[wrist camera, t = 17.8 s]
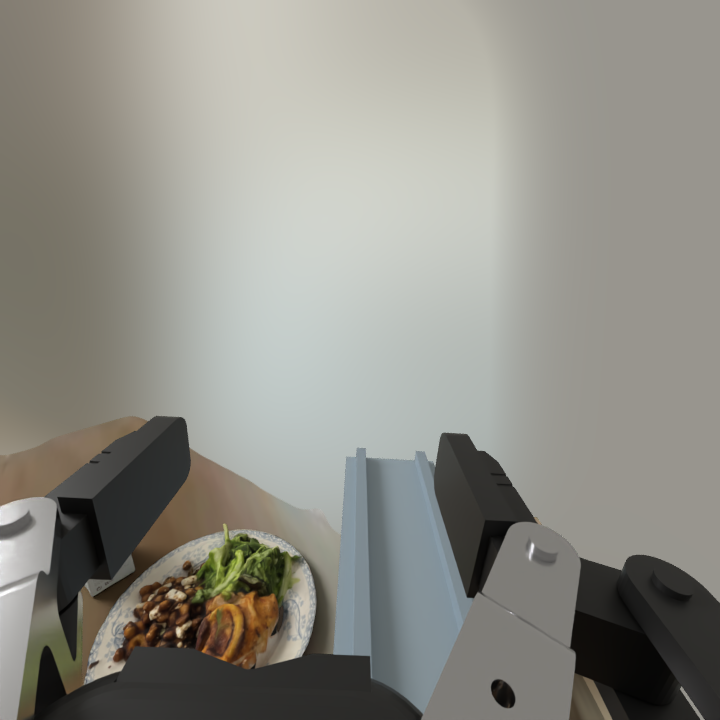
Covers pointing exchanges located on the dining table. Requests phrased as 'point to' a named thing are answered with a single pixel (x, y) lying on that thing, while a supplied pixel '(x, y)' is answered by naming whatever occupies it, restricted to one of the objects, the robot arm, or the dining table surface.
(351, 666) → the robot arm
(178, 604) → the plate of food
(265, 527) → the dining table surface
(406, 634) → the pedestal
